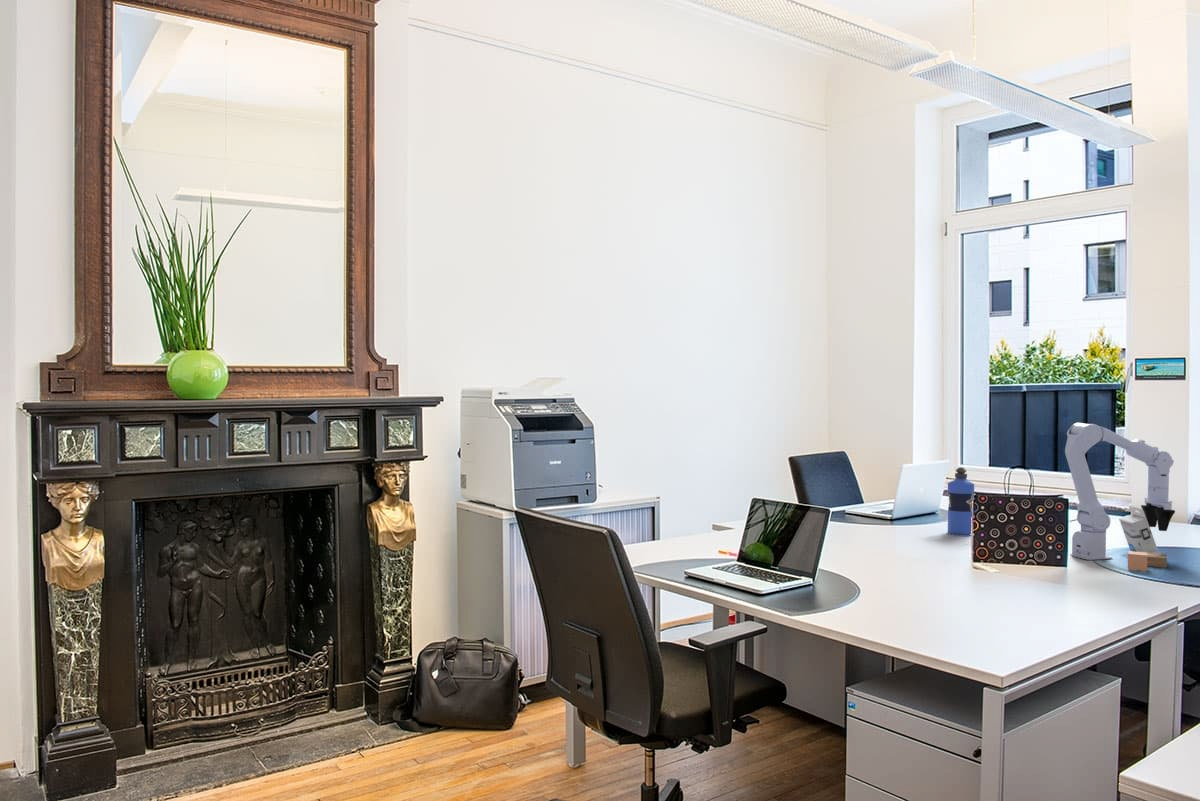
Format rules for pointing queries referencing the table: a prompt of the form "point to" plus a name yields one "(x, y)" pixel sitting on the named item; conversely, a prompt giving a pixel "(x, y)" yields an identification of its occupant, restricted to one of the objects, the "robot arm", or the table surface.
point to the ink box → (1138, 531)
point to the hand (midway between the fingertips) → (1157, 528)
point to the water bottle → (960, 504)
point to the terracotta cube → (1137, 560)
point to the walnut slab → (1156, 559)
